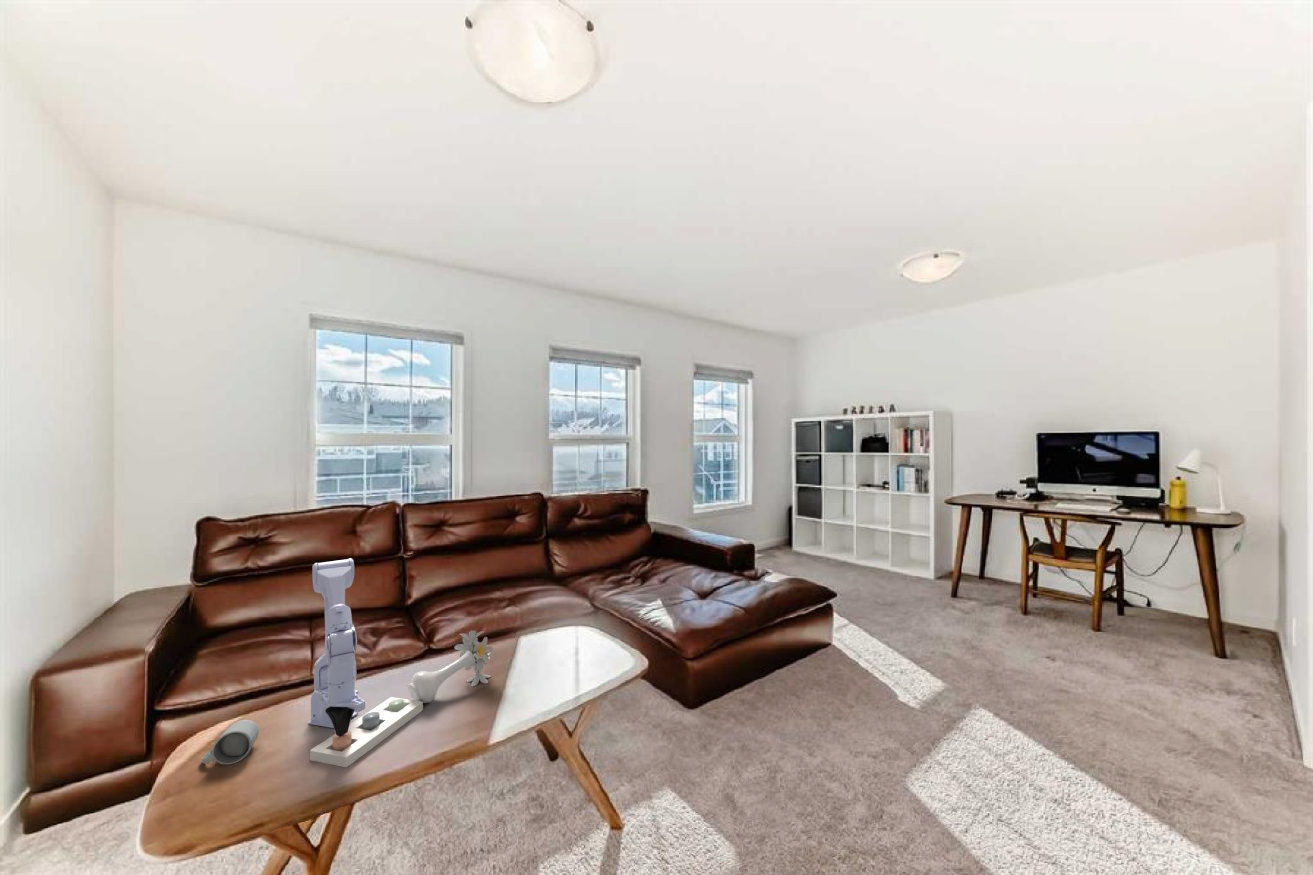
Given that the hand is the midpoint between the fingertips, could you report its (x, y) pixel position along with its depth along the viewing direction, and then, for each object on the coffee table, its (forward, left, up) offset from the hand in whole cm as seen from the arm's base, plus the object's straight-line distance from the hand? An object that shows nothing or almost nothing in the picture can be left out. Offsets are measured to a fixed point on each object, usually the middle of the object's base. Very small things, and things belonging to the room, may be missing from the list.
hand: (342, 733), depth 126 cm
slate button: (0, +9, -4) cm, 10 cm away
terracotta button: (0, 0, -4) cm, 4 cm away
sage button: (0, +18, -5) cm, 19 cm away
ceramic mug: (-26, -8, -5) cm, 28 cm away
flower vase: (+7, +34, -5) cm, 35 cm away
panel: (0, +9, -5) cm, 10 cm away
